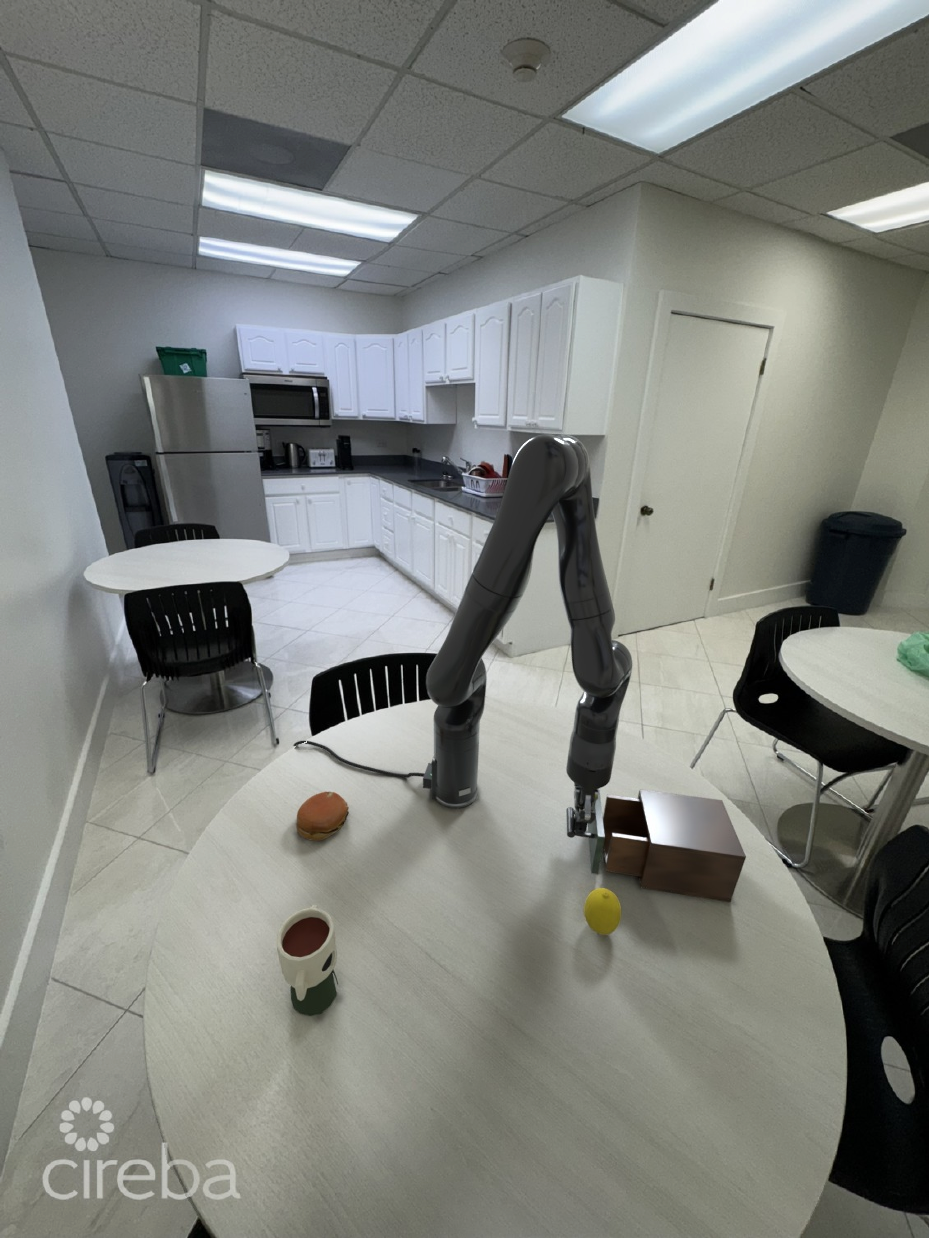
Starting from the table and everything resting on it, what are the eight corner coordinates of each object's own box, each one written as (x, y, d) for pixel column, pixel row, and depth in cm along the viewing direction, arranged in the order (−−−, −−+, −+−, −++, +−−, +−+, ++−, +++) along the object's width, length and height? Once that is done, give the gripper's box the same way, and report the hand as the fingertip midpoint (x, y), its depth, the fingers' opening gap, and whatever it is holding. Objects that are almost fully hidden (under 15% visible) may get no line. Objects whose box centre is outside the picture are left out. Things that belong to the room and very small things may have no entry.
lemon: (613, 913, 80) (620, 879, 77) (620, 947, 75) (628, 912, 72) (579, 910, 81) (585, 875, 78) (583, 943, 76) (590, 908, 73)
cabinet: (640, 887, 85) (651, 842, 81) (630, 831, 96) (639, 789, 92) (730, 902, 83) (746, 856, 78) (709, 842, 94) (722, 799, 90)
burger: (293, 844, 92) (291, 825, 90) (301, 807, 100) (299, 789, 98) (348, 839, 93) (346, 820, 91) (351, 803, 101) (349, 785, 100)
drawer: (564, 869, 87) (569, 832, 83) (563, 820, 97) (567, 785, 94) (671, 886, 84) (681, 848, 81) (659, 833, 95) (667, 798, 91)
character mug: (335, 1037, 64) (326, 974, 59) (279, 1042, 63) (265, 979, 58) (346, 952, 74) (339, 892, 69) (297, 955, 73) (287, 895, 68)
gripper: (567, 727, 90) (558, 800, 97) (570, 776, 78) (559, 855, 85) (609, 732, 89) (597, 805, 96) (618, 782, 77) (603, 862, 84)
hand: (579, 828), depth 90 cm, fingers closed
